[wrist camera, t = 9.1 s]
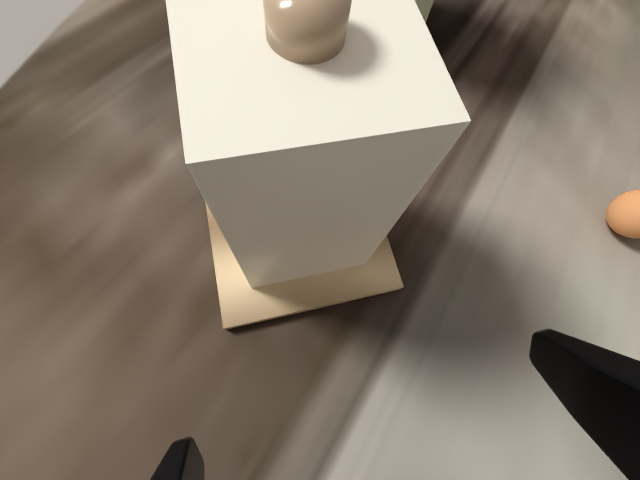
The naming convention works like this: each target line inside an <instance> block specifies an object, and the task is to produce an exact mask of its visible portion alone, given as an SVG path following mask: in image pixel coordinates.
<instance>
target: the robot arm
mask: <svg viewBox="0 0 640 480" xmlns="http://www.w3.org/2000/svg"><path fill="white" fill-rule="evenodd" d="M529 357H530V360H531V362H532V364H533V366H534V367H535V368H536V370H537V371H538V372H539V373H540V375H541V376H542V377H543V379H544V380H545V381H546V383H547V384H548V385H549V387H550V388H551V389H552V391H553V392H554V393H555V395H556V396H557V397H558V399H559V400H560V401H561V403H562V404H563V405H564V407H565V408H566V409H567V410H568V412H569V413H570V414H571V415H572V417H573V418H574V419H575V420H576V421H577V423H578V424H579V425H580V426H581V427H582V428H583V429H584V430H585V432H586V433H587V434H588V435H589V436H590V437H591V438H592V439H593V441H594V442H595V443H596V444H597V445H598V446H599V447H600V448H601V449H602V451H603V452H604V453H605V454H606V455H607V456H608V457H609V458H610V460H611V461H612V462H613V463H614V464H615V465H616V466H617V467H618V468H619V470H620V471H621V472H622V473H623V474H624V475H625V476H626V477H627V479H628V480H640V361H638V360H635V359H633V358H630V357H627V356H624V355H621V354H619V353H616V352H613V351H610V350H607V349H605V348H602V347H599V346H596V345H594V344H591V343H588V342H585V341H582V340H580V339H577V338H574V337H571V336H569V335H566V334H563V333H560V332H557V331H555V330H552V329H544V330H541V331H538V332H535V333H534V334H533V335H532V340H531V346H530V353H529ZM150 480H204V462H203V458H202V456H201V454H200V452H199V449H198V447H197V445H196V443H195V441H194V439H193V438H192V437H187V438H184V439H180V440H177V441H175V442H173V443H172V444H171V446H170V447H169V449H168V451H167V452H166V454H165V456H164V457H163V459H162V461H161V462H160V464H159V466H158V467H157V469H156V471H155V472H154V474H153V476H152V477H151V479H150Z"/></svg>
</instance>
